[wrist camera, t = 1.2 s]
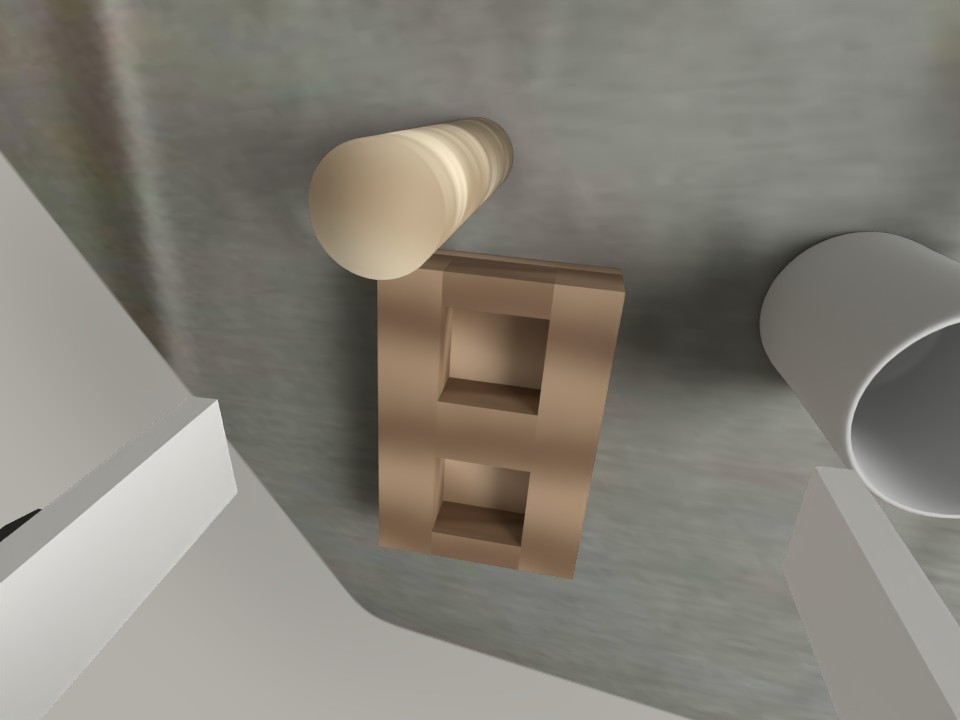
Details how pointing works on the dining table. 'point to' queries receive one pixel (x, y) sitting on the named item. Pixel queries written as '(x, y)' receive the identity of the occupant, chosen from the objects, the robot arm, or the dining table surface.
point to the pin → (404, 193)
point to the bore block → (492, 406)
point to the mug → (876, 361)
